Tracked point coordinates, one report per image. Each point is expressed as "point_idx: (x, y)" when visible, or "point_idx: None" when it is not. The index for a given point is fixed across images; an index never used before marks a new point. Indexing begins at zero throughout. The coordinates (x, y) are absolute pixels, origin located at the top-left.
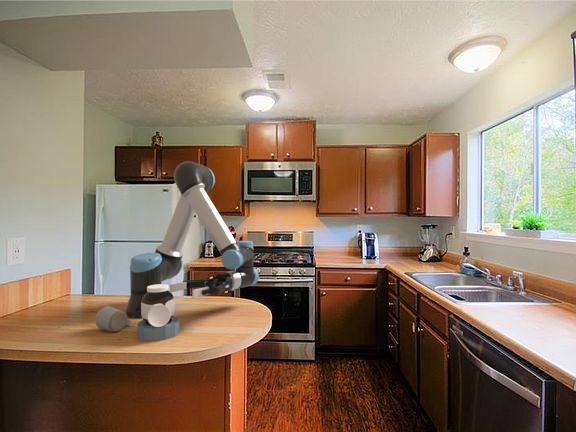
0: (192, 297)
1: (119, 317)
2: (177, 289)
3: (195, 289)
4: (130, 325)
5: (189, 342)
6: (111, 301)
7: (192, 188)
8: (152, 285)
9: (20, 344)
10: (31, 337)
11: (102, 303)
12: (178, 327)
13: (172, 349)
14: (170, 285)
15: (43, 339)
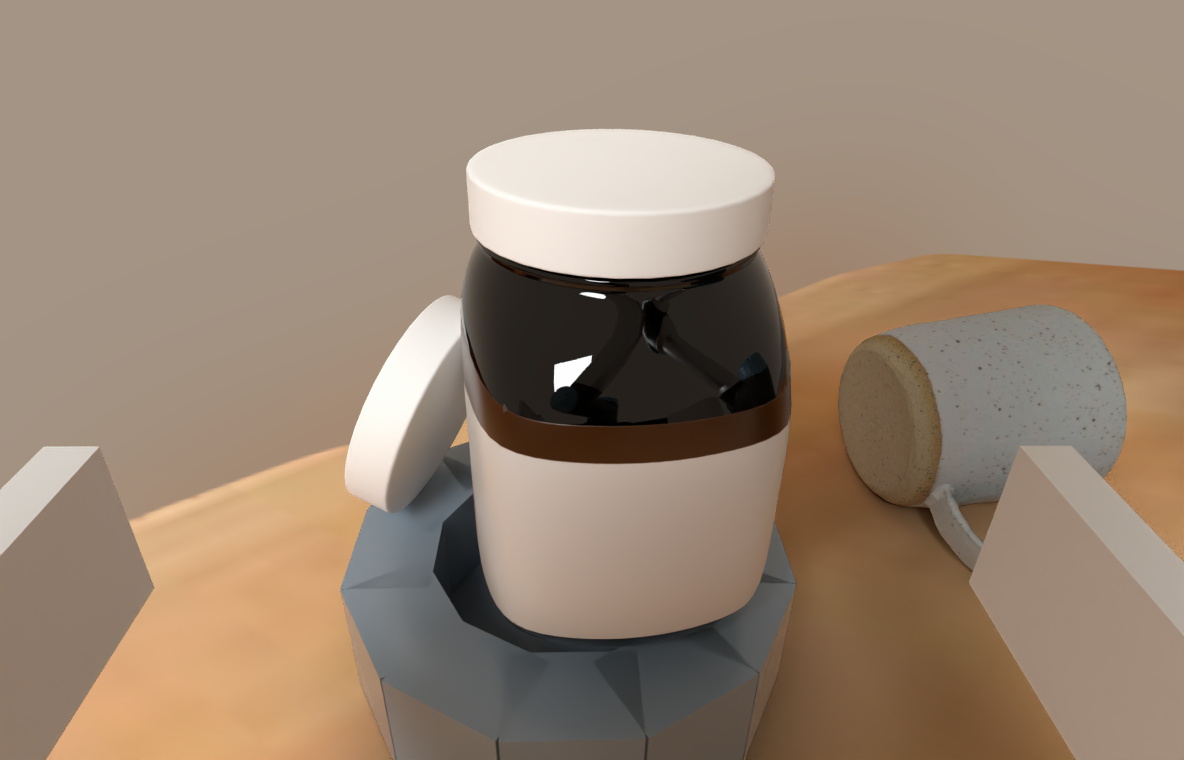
0: (149, 581)
1: (882, 391)
2: (1076, 702)
3: (32, 496)
4: (972, 570)
5: (97, 685)
6: None
7: None
8: (726, 157)
9: (935, 271)
10: (1027, 294)
11: None
12: (379, 703)
13: (170, 542)
14: (1046, 458)
15: (961, 306)
